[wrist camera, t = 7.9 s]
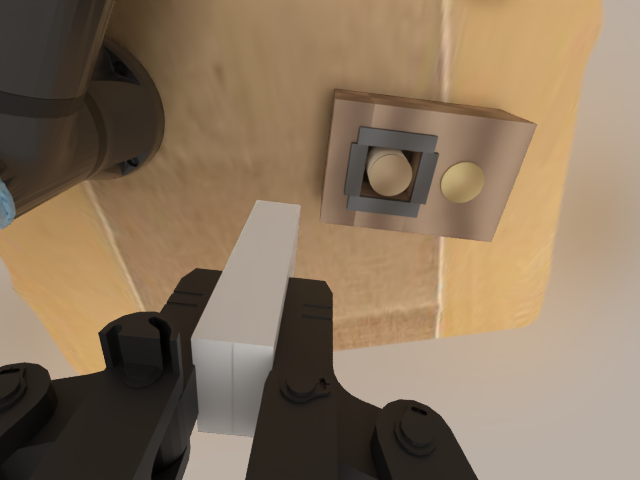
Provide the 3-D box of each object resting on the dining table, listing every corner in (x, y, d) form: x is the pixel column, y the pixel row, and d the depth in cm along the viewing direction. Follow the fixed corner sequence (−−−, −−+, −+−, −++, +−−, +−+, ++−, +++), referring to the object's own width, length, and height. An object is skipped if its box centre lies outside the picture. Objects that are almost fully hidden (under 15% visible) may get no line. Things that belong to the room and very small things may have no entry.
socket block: (321, 193, 44) (319, 224, 37) (334, 88, 39) (335, 100, 31) (466, 211, 45) (493, 244, 37) (500, 109, 39) (540, 125, 32)
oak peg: (360, 168, 42) (365, 193, 35) (366, 133, 40) (373, 152, 33) (394, 172, 42) (406, 198, 35) (401, 137, 40) (416, 157, 33)
